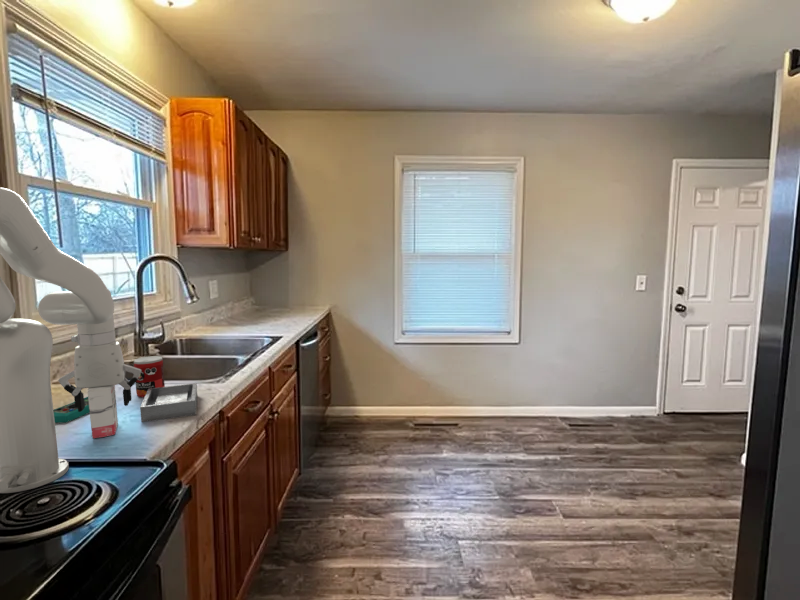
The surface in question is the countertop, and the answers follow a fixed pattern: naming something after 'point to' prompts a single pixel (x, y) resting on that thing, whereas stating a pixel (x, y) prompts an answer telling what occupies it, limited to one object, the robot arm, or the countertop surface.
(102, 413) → the ink box
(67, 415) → the digital multimeter
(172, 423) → the countertop surface
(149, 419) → the grey rimmed tray
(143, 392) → the canned food
